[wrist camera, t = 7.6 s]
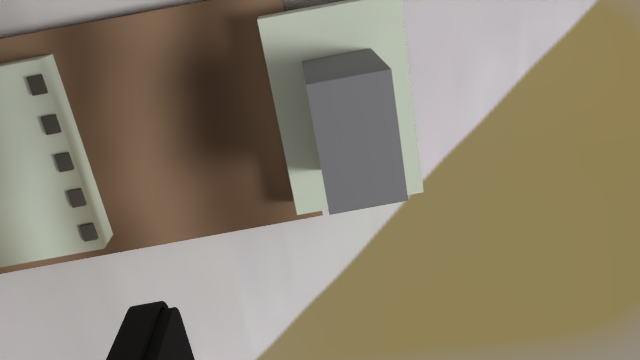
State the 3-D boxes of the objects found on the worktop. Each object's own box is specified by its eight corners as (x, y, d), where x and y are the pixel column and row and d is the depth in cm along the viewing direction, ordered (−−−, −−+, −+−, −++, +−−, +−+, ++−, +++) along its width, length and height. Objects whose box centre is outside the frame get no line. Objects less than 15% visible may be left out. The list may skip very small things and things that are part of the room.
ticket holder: (280, -14, 26) (279, -11, 24) (321, 207, 30) (325, 229, 28) (-155, 66, 26) (-202, 78, 24) (-58, 276, 30) (-89, 304, 28)
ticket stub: (393, -9, 26) (428, 1, 19) (416, 180, 29) (452, 240, 23) (258, 16, 26) (250, 34, 19) (296, 202, 29) (299, 267, 23)
